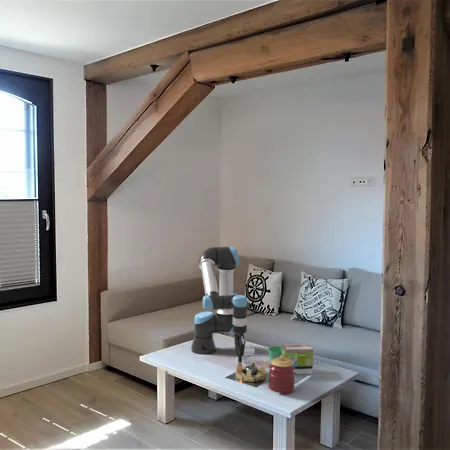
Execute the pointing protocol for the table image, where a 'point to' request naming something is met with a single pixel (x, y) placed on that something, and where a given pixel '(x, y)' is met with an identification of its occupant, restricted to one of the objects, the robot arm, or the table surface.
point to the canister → (281, 375)
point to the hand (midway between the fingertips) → (239, 367)
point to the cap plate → (255, 384)
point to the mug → (275, 352)
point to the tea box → (299, 357)
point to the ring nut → (250, 373)
